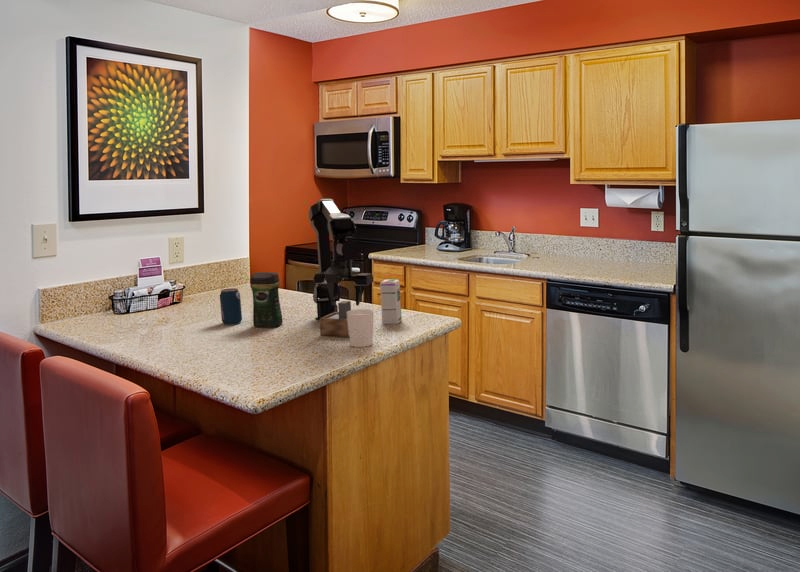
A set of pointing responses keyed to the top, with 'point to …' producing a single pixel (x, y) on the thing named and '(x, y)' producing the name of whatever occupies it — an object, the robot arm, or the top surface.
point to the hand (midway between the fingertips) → (344, 304)
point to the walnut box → (333, 326)
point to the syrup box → (390, 301)
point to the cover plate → (342, 310)
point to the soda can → (230, 306)
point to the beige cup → (360, 327)
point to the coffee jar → (266, 299)
